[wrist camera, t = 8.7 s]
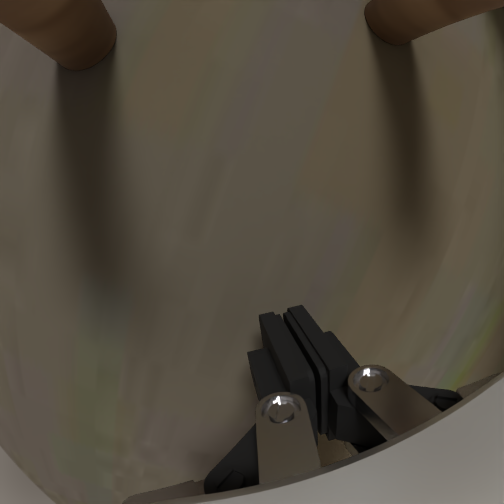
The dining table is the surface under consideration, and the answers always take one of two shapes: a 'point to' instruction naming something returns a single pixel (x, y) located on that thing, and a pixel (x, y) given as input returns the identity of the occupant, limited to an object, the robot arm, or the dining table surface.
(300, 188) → the dining table surface
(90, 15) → the post
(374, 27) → the post
